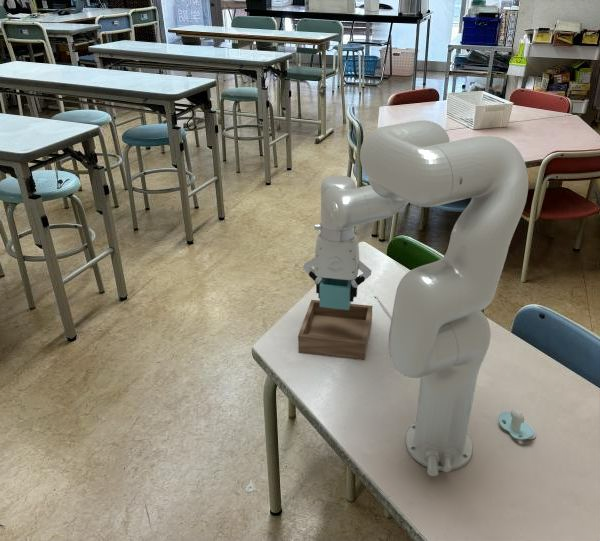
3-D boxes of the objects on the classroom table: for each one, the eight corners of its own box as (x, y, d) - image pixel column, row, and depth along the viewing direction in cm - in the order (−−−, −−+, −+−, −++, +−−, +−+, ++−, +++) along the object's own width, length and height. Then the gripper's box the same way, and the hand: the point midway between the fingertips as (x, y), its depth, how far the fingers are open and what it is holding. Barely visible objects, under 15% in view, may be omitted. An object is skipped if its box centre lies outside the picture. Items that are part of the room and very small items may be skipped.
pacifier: (514, 414, 113) (492, 424, 111) (520, 391, 110) (498, 400, 108) (542, 438, 108) (520, 449, 105) (549, 414, 105) (527, 425, 102)
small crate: (348, 310, 129) (349, 288, 125) (319, 306, 130) (319, 285, 127) (352, 294, 134) (353, 273, 131) (324, 291, 136) (324, 270, 133)
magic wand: (370, 293, 157) (374, 288, 157) (407, 342, 136) (411, 337, 135) (366, 291, 156) (369, 286, 156) (401, 340, 135) (405, 335, 134)
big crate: (364, 360, 129) (365, 343, 127) (298, 352, 132) (298, 335, 130) (371, 321, 143) (372, 305, 140) (311, 315, 146) (311, 299, 143)
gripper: (296, 235, 121) (297, 301, 130) (374, 241, 118) (370, 309, 127) (303, 220, 128) (304, 285, 137) (378, 226, 124) (374, 292, 133)
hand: (336, 296), depth 132 cm, fingers closed on small crate, 7 cm apart
